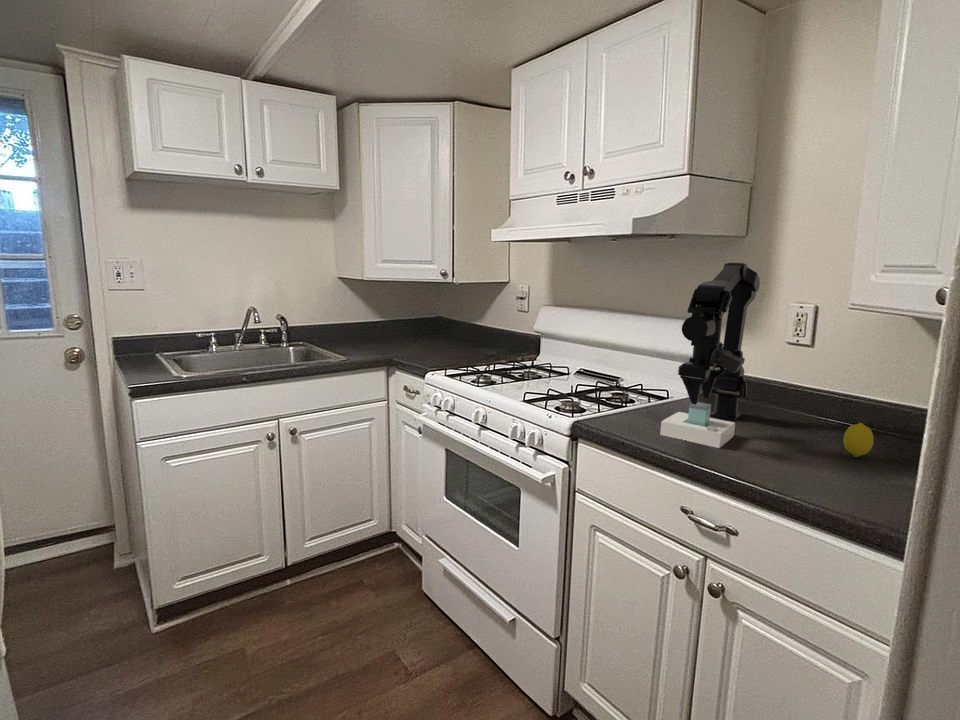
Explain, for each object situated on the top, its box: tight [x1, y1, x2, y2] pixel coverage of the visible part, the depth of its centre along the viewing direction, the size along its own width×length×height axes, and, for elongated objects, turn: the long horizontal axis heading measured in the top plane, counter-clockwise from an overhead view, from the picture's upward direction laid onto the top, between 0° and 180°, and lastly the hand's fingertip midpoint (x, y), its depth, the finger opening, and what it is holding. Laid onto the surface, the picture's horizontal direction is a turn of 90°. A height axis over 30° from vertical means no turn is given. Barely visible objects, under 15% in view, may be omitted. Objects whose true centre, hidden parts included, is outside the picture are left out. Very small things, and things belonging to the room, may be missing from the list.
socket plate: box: [659, 411, 736, 449], centre depth 137 cm, size 12×14×4 cm
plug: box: [688, 401, 712, 427], centre depth 137 cm, size 4×4×8 cm
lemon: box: [843, 422, 874, 458], centre depth 125 cm, size 6×6×8 cm
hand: (700, 400), depth 135 cm, fingers open, 9 cm apart
